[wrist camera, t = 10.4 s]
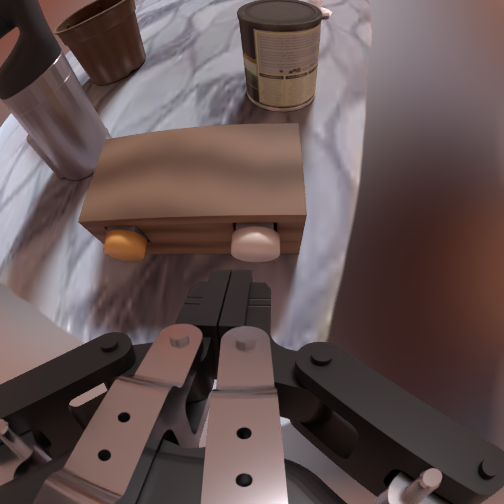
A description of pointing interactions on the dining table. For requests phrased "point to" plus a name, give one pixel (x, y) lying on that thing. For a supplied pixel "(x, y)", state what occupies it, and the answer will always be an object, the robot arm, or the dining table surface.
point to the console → (200, 186)
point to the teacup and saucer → (320, 7)
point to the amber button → (125, 243)
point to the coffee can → (280, 52)
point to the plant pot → (104, 39)
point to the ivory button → (255, 242)
